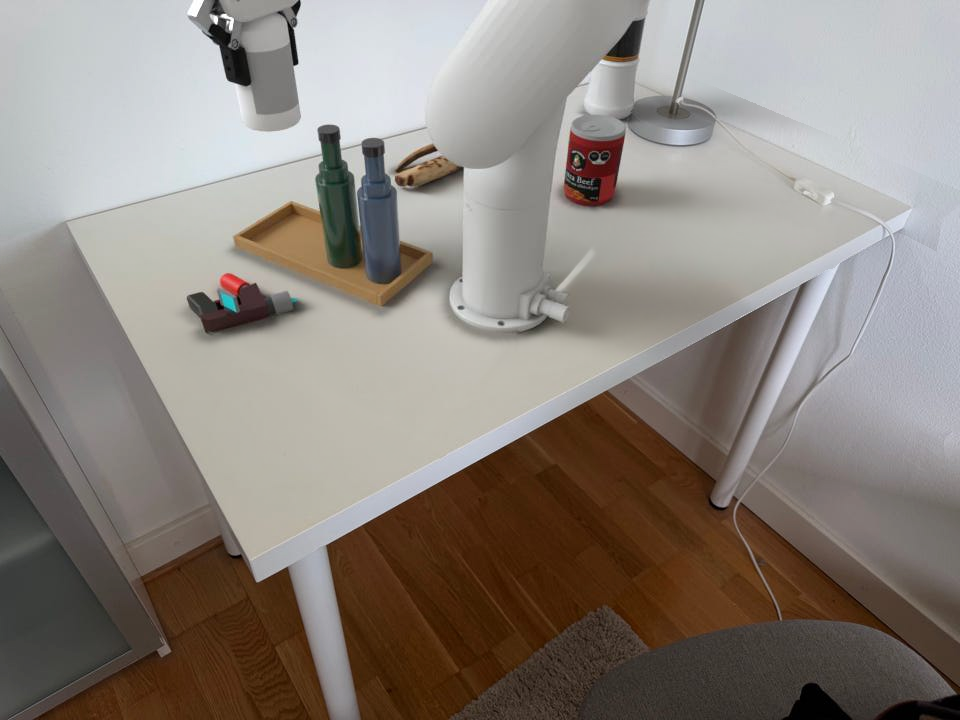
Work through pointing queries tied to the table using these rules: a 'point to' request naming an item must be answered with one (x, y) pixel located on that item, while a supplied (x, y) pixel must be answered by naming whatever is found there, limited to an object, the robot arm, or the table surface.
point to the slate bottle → (378, 217)
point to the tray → (322, 253)
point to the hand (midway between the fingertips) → (263, 71)
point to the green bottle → (337, 202)
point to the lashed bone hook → (423, 168)
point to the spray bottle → (268, 76)
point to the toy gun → (237, 304)
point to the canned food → (593, 159)
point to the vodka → (617, 74)
